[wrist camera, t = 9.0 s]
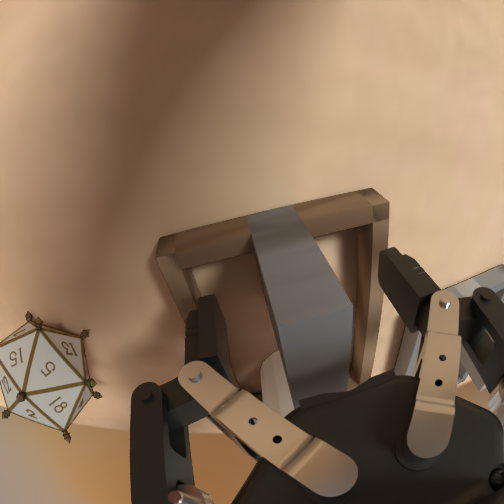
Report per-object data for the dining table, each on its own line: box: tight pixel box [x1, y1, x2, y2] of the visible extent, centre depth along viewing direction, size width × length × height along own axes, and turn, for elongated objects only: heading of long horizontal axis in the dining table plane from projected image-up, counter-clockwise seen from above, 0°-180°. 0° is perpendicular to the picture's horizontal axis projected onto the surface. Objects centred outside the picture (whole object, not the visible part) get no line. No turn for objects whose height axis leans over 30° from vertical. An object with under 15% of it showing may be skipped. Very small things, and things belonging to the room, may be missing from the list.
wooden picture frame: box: [155, 188, 389, 409], centre depth 17 cm, size 18×12×8 cm, turn 11°
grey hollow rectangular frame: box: [394, 264, 504, 391], centre depth 23 cm, size 18×12×8 cm, turn 11°
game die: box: [0, 311, 102, 443], centre depth 16 cm, size 9×8×10 cm
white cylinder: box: [260, 350, 294, 418], centre depth 21 cm, size 7×7×7 cm
